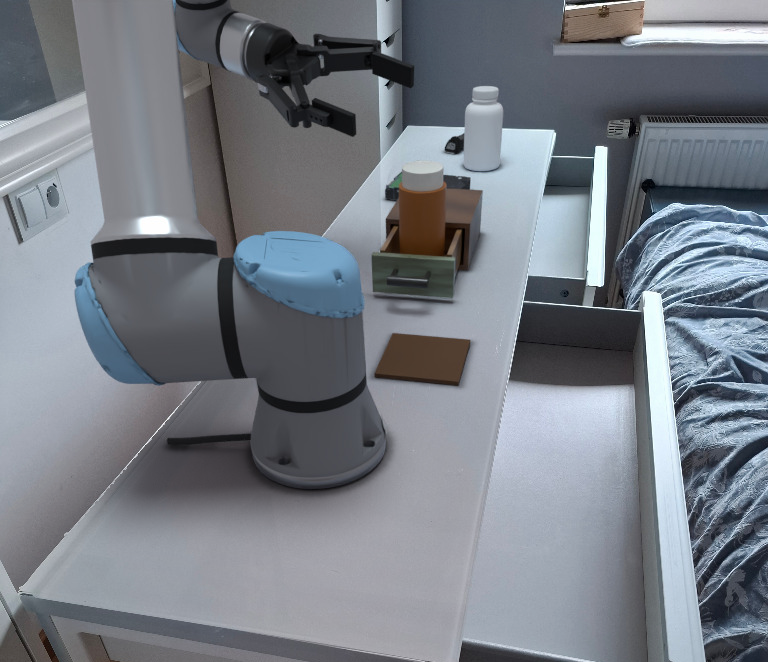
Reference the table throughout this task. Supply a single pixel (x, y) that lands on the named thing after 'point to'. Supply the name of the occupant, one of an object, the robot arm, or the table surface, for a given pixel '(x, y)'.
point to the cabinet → (455, 219)
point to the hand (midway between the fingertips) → (384, 100)
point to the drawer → (417, 267)
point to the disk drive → (450, 180)
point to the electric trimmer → (455, 144)
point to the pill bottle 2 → (483, 130)
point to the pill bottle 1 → (422, 209)
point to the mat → (423, 359)
